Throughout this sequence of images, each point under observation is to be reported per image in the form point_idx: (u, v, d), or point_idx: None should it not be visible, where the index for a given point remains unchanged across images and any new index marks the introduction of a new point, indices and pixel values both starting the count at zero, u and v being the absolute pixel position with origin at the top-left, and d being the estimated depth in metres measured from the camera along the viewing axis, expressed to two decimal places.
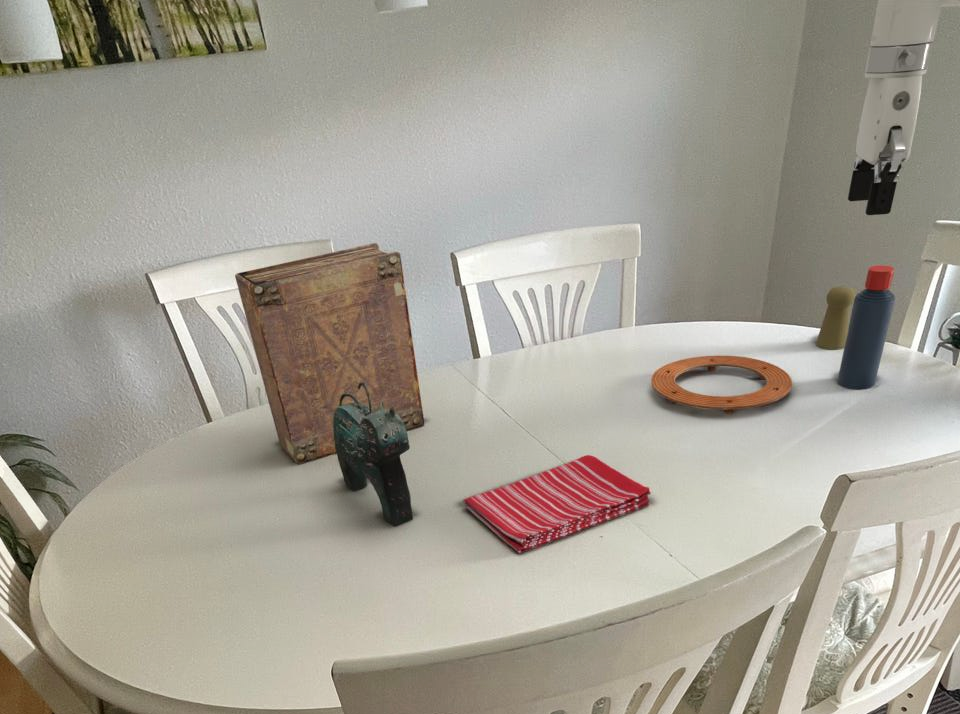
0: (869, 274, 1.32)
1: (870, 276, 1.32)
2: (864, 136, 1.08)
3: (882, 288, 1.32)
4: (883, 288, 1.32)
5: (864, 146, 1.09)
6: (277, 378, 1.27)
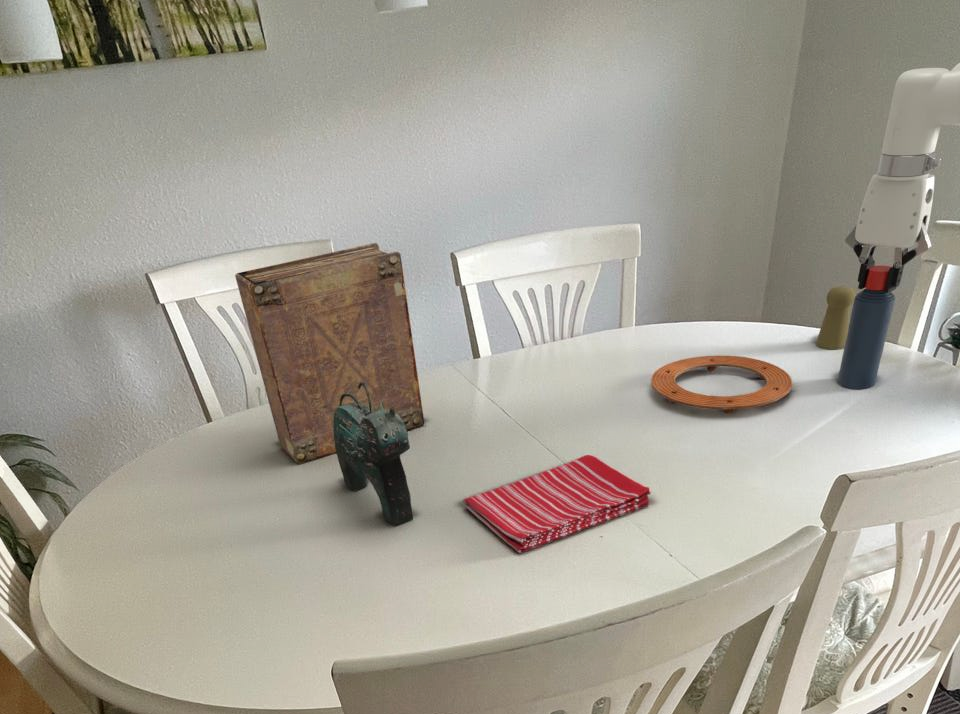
0: (869, 274, 1.32)
1: (870, 276, 1.32)
2: (884, 226, 1.26)
3: (882, 288, 1.32)
4: (883, 288, 1.32)
5: (885, 234, 1.27)
6: (277, 377, 1.27)
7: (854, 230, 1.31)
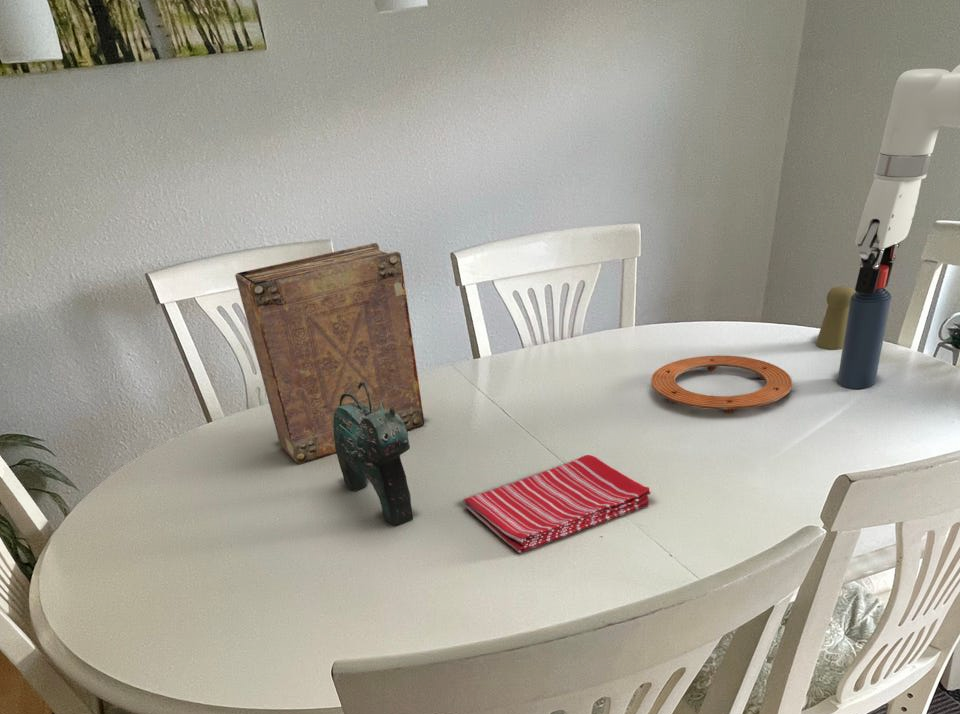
0: (881, 274, 1.31)
1: (883, 275, 1.31)
2: (901, 226, 1.26)
3: None
4: None
5: (899, 233, 1.27)
6: (277, 377, 1.27)
7: (872, 241, 1.25)
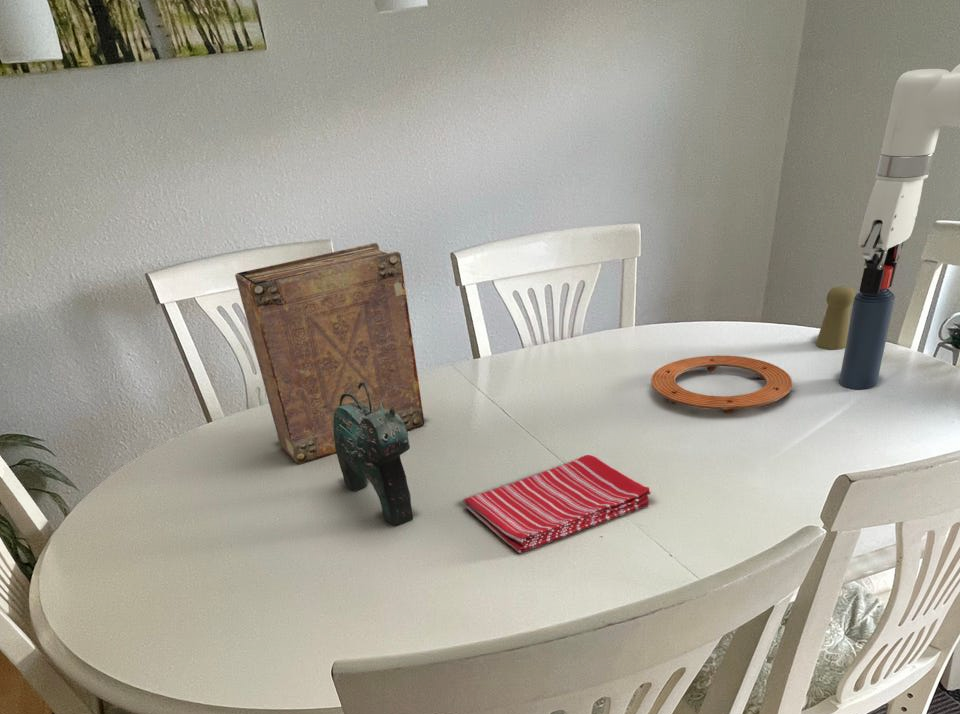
0: (885, 274, 1.31)
1: (886, 276, 1.31)
2: (904, 226, 1.26)
3: None
4: None
5: (903, 233, 1.27)
6: (277, 377, 1.27)
7: (875, 242, 1.25)
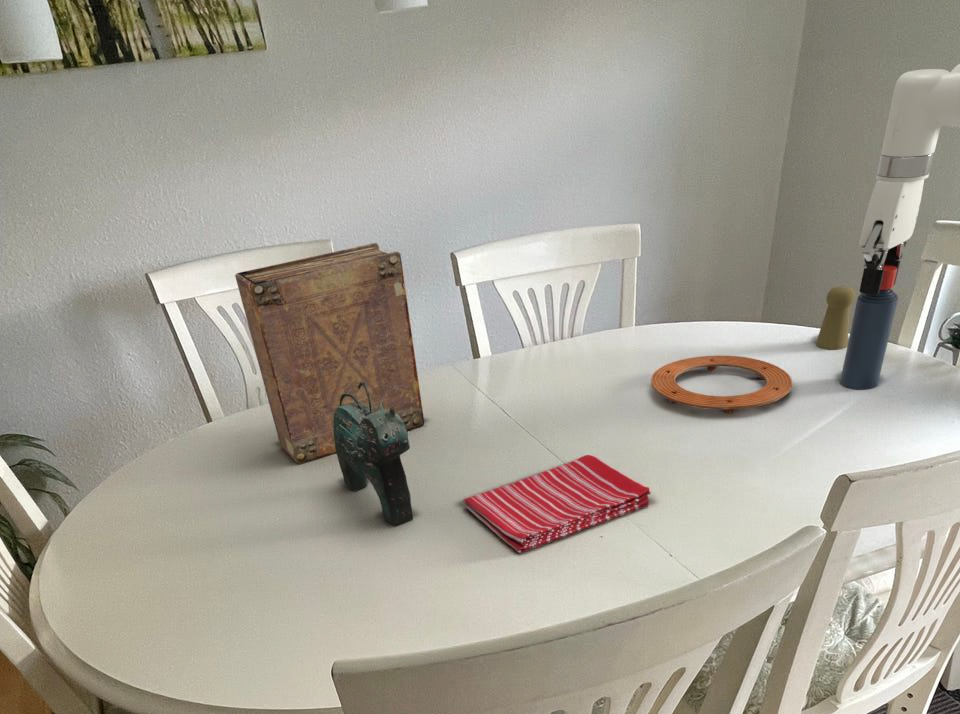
0: (889, 275, 1.30)
1: (891, 276, 1.31)
2: (905, 226, 1.26)
3: None
4: None
5: (904, 233, 1.27)
6: (277, 377, 1.27)
7: (876, 241, 1.25)
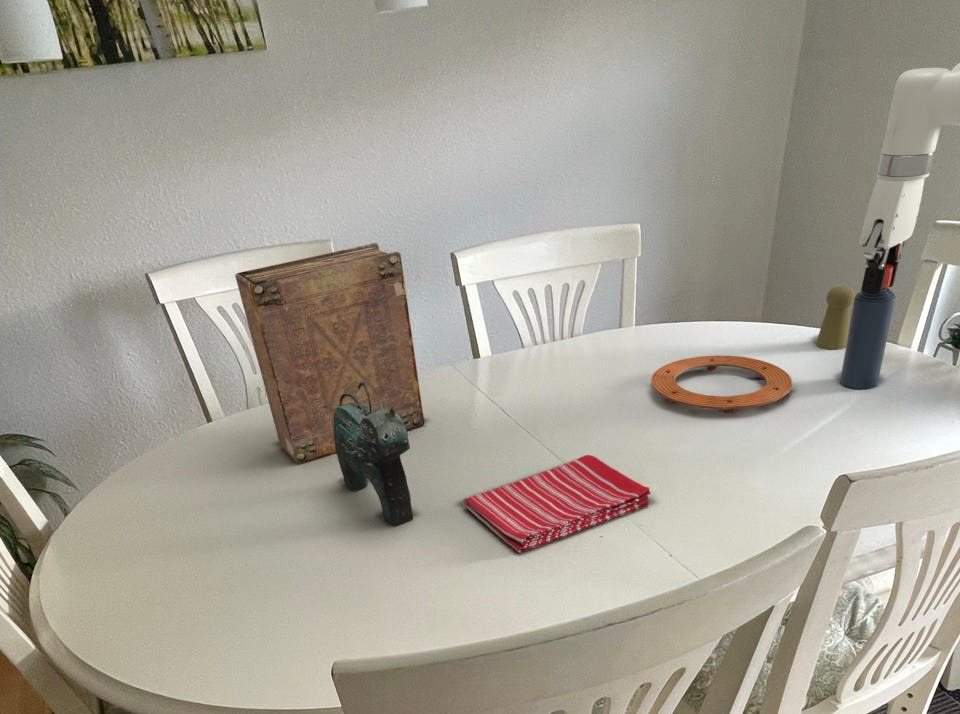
0: None
1: None
2: (906, 225, 1.26)
3: None
4: None
5: (904, 232, 1.27)
6: (277, 377, 1.27)
7: (877, 241, 1.25)
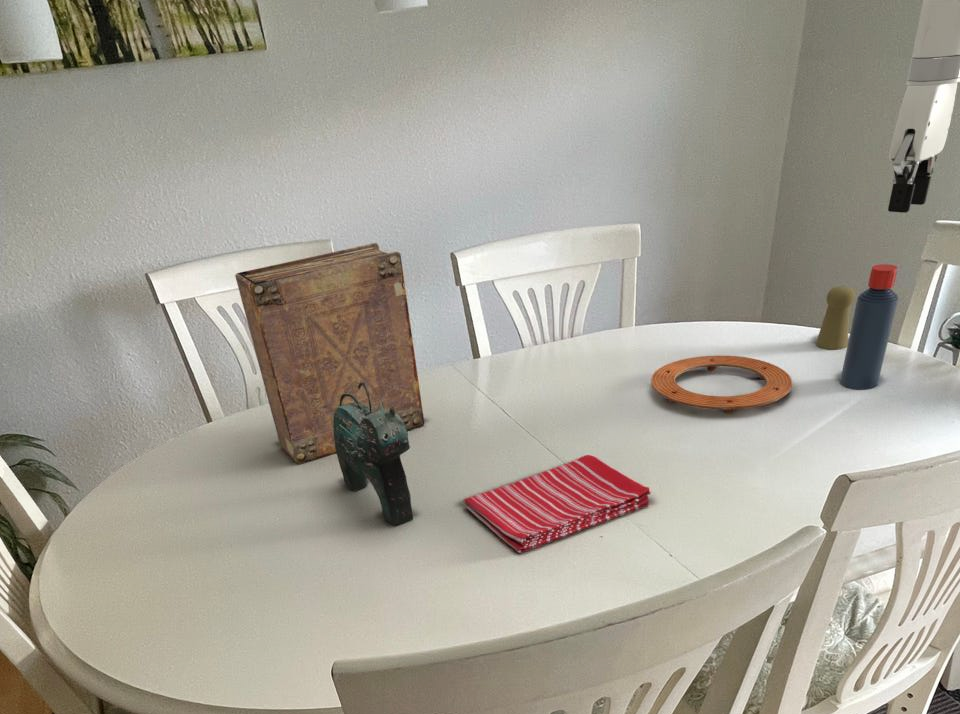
0: None
1: None
2: (937, 136, 1.19)
3: None
4: None
5: (936, 144, 1.20)
6: (277, 377, 1.27)
7: (907, 151, 1.18)
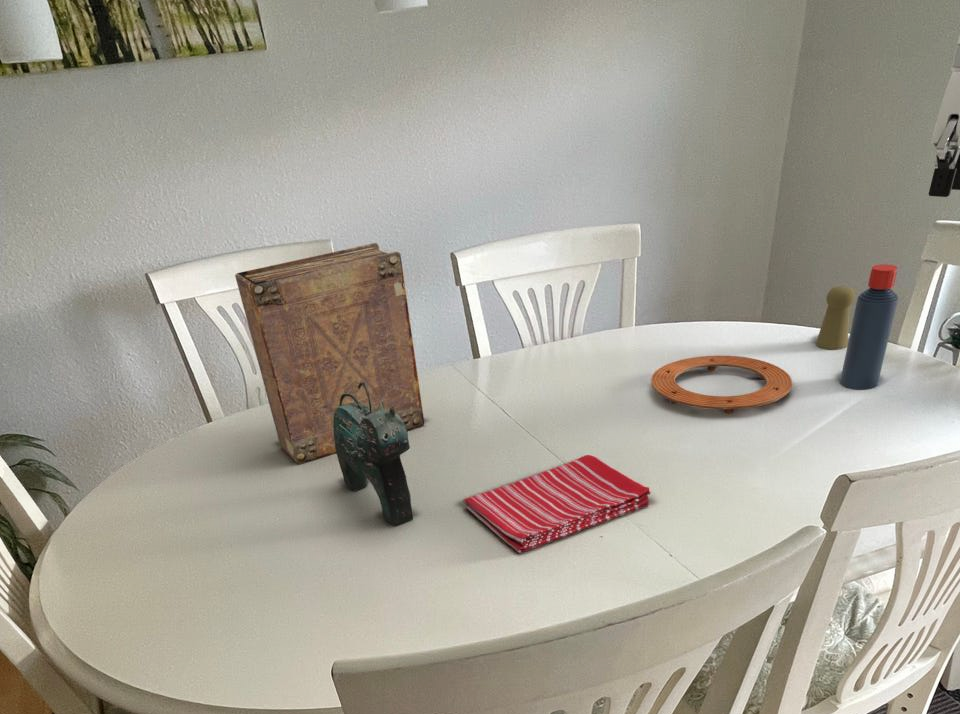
0: None
1: None
2: None
3: None
4: None
5: None
6: (277, 377, 1.27)
7: (950, 136, 1.21)
